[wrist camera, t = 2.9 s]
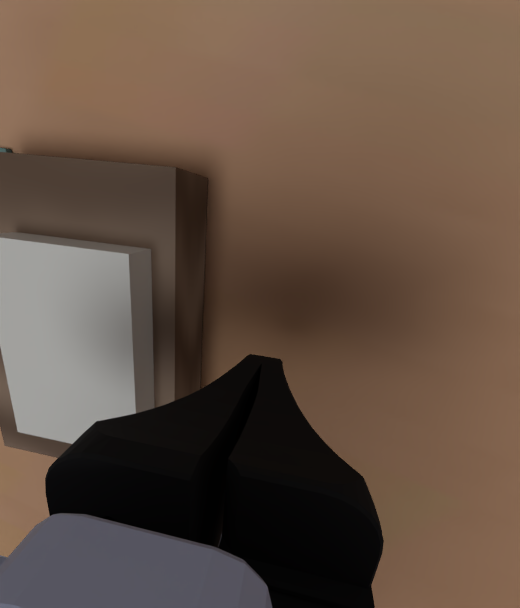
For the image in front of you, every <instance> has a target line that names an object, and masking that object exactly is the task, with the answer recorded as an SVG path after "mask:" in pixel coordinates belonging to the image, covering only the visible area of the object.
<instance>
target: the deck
mask: <svg viewBox="0 0 520 608" xmlns="http://www.w3.org/2000/svg"><path fill="white" fill-rule="evenodd" d="M207 194H208V178H205V177H203V176H200V175H197V174H194V173H191V172H188V171H185V170H182V169H179V168H176V167H166V166H155V165H144V164H132V163H121V162H110V161H98V160H87V159H75V158H64V157H53V156H41V155H30V154H19V153H7V152H0V233H9V232H20V233H28V234H36V235H44V236H52V237H60V238H68V239H76V240H84V241H92V242H99V243H107V244H115V245H123V246H131V247H139V248H147V249H151V270H152V317H153V364H154V408H156V407H159V406H162V405H165V404H168V403H170V402H173V401H175V400H178V399H180V398H183V397H185V396H188V395H190V394H192V393H194V392H196V391H198V390H200V381H201V354H202V328H203V301H204V274H205V247H206V220H207ZM0 427H1V431H2V436H3V440H4V444H5V446H8V447H13V448H17V449H21V450H26V451H30V452H35V453H39V454H43V455H48V456H52V457H56V458H59V457H60V456H61V455H62V454H63V453H64V452H65V451H66V450H67V449H68V448H69V447H70V446H71V445H72V444H70V443H66V442H61V441H56V440H52V439H47V438H43V437H38V436H34V435H29V434H25V433H20V432H18V431H17V426H16V421H15V416H14V411H13V406H12V401H11V397H10V392H9V387H8V382H7V377H6V372H5V367H4V362H3V358H2V353H1V348H0Z"/></svg>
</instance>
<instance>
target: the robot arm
mask: <svg viewBox="0 0 520 608" xmlns="http://www.w3.org/2000/svg"><path fill="white" fill-rule="evenodd" d="M282 363H283V362H282V361H281V359H277V358H271V357H265V356H258V355H252V354H250V355H248V356H247V357H246V358H244V359H243V360H242V361H241V362H240V363H238V364H237V365H236V366H235V367H233V368H232V369H231V370H229V371H228V372H227V373H225V374H224V375H223V376H221V377H220V378H218V379H217V380H215V381H214V382H212V383H211V384H209V385H207V386H206V387H204V388H202V389H200V390H198V391H196V392H194V393H192V394H190V395H188V396H185V397H183V398H180V399H178V400H175V401H173V402H170V403H168V404H165V405H162V406H159V407H156V408H153V409H150V410H146V411H142V412H139V413H135V414H131V415H126V416H121V417H116V418H111V419H107V420H101V421H96V422H95V423H94V424H93V425H92V426H91V427H90V428H88V429H87V430H86V431H85V432H84V433H83V434H82V435H81V436H80V437H79V438H78V439H77V440H76V441H75V442H74V443H73V444H72V445H71V446H70V447H69V448H68V449H67V450H66V451H65V452H64V453H63V454H62V455H61V456H60V457H59V458H58V459H57V460H56V461H55V462H54V463H53V464H52V465H51V466H50V467H49V469H48V472H47V475H46V478H45V482H46V497H47V503H48V508H49V514H50V517H48V518H47V519H45V520H43V521H42V522H40V523H39V524H37V525H36V526H35V527H34V528H33V529H32V530H31V531H30V533H29V534H28V535H27V536H26V537H25V538H24V539H23V541H22V542H21V543H20V544H19V545H18V546H17V547H16V549H15V550H14V551H13V552H12V553H11V554H10V555H9V557H4V556H1V555H0V608H374V607H375V606H374V600H373V594H372V588H371V584H372V581H373V579H374V576H375V573H376V570H377V567H378V564H379V561H380V558H381V555H382V549H383V542H384V541H383V537H382V530H381V526H380V521H379V518H378V515H377V512H376V509H375V506H374V503H373V500H372V497H371V495H370V492H369V490H368V487H367V485H366V482H365V480H364V478H363V476H361V475H360V474H359V473H358V472H357V471H355V470H354V469H353V468H352V467H351V466H349V465H348V464H347V463H346V462H345V461H343V460H342V459H341V458H340V457H339V456H338V455H337V454H336V453H335V452H334V451H333V450H332V449H331V448H330V447H329V446H328V445H327V444H326V443H325V442H324V441H323V440H322V439H321V438H320V437H319V435H318V434H317V433H316V432H315V431H314V429H313V428H312V427H311V425H310V424H309V423H308V421H307V420H306V418H305V417H304V415H303V414H302V412H301V410H300V409H299V407H298V405H297V403H296V401H295V399H294V397H293V395H292V393H291V391H290V389H289V386H288V383H287V381H286V378H285V375H284V371H283V365H282Z"/></svg>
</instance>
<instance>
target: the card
mask: <svg viewBox="0 0 520 608" xmlns="http://www.w3.org/2000/svg"><path fill="white" fill-rule="evenodd" d="M0 348H1V353H2V358H3V362H4V367H5V372H6V377H7V382H8V387H9V392H10V397H11V401H12V406H13V411H14V416H15V421H16V426H17V431H18V432H20V433H25V434H29V435H34V436H38V437H43V438H47V439H52V440H56V441H61V442H66V443H70V444H73V443H74V442H75V441H76V440H77V439H78V438H79V437H80V436H81V435H82V434H83V433H84V432H85V431H86V430H87V429H88V428H90V427H91V426H92V425H93V424H94V423H95V422H96V421H101V420H107V419H111V418H116V417H121V416H126V415H131V414H135V413H139V412H142V411H146V410H150V409H153V408H154V364H153V317H152V270H151V249H147V248H139V247H131V246H123V245H115V244H107V243H99V242H92V241H84V240H76V239H68V238H60V237H52V236H44V235H36V234H28V233H20V232H9V233H0Z"/></svg>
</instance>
